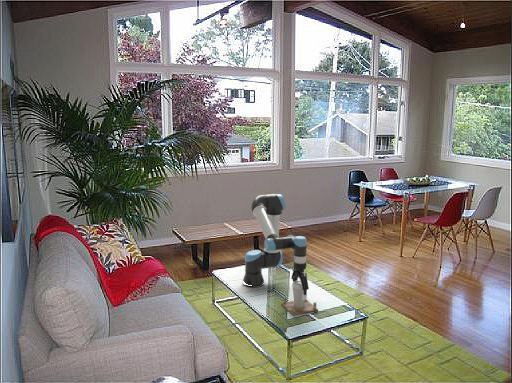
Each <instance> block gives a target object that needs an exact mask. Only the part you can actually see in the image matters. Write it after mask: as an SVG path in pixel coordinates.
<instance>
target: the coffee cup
mask: <svg viewBox="0 0 512 383" xmlns="http://www.w3.org/2000/svg"><path fill="white" fill-rule="evenodd" d="M291 287H292V294H293V297H292V298H293V301H294V306H295V307H296V308H304V307H305V300H302V289H303V287H302V284H301V280H297V281H294V282H293V281H292V284H291Z"/></svg>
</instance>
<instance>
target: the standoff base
mask: <svg viewBox="0 0 512 383" xmlns="http://www.w3.org/2000/svg"><path fill="white" fill-rule="evenodd" d="M282 298H283V301H282V302H281V306H282V307H283V308H284V309H285V310H286V311H287V312H288V313H289V314H290V315H291V316H299V315H300V316H301V315H304V314H312V313H319V309H318V308H317V302H315V301H314V302H313V304H312V303H311V302H310V301H309V300H308V299H306V300H305V307H304V308H296V307H295V306H294V300H290V301H287V297H286V296H283V297H282Z"/></svg>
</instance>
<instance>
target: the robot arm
mask: <svg viewBox="0 0 512 383" xmlns="http://www.w3.org/2000/svg"><path fill="white" fill-rule="evenodd" d="M250 206H251V207H250V208H251V213H252V214H253V216H254V217H255V218H256V220H257V223H258V225H259V227H260V229H261V232H262V234H263V236H264V238H265V240H264V241H263V242H264V248H263V251H261V250H259V249H253V250H250V251H248V252H246V253H245V256H244V257H245V258H244V262H245V263H244V267H245V268H244V270H245V272H244V276H243V278H242V282H243V281H244V282H245V283H246V284H248V285H252V286H260V285H262V284H263V283H264V284H265V280H264V277H263V276H264V275H263V273H262V271H263V269H264V270H265V269H273V268H274V269H275V268H278V267H281V266H282V263H283V260H284V257H283V252H282V251H281V250H290V249H291V250H293V271H292V275H291V278H290V279H291V280H292V283H293V282H294V281H301V284H302V287H303V289H302V300H306V299H307V298H308V296H307V295H308V292H307V291H308V290H309V289H310V288H309V282H308V275H307V272H305V270H306V269H307V245H308V244H307V243H308V242H307V237H305V236H302V235H297V236H295V235H293V234H288V235H287V236H283V237H280V235H279V234H280V219H281V218H280V217H281V216H282V214H283V211H285V210H286V199H285V198H284V196H283V195H282V194H280V193H271V194H259V195H257V196H255V198H254V199H253V200H252V202H251V205H250ZM262 286H263V285H262ZM260 287H261V286H260ZM307 300H308V299H307Z"/></svg>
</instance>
